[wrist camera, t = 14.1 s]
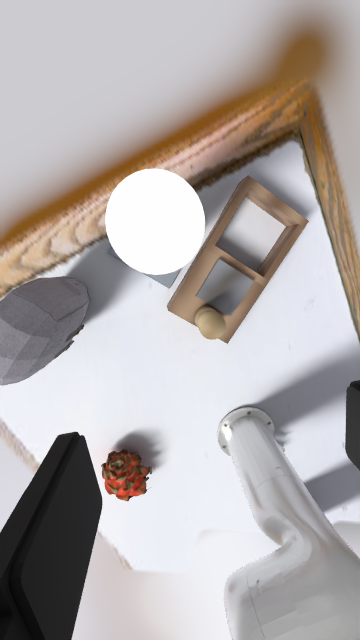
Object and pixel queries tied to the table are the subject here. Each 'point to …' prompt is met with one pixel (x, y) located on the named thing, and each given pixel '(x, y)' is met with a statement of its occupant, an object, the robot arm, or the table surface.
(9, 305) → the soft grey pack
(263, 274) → the wooden divided tray
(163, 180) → the cylindrical container
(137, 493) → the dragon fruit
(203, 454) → the table surface
